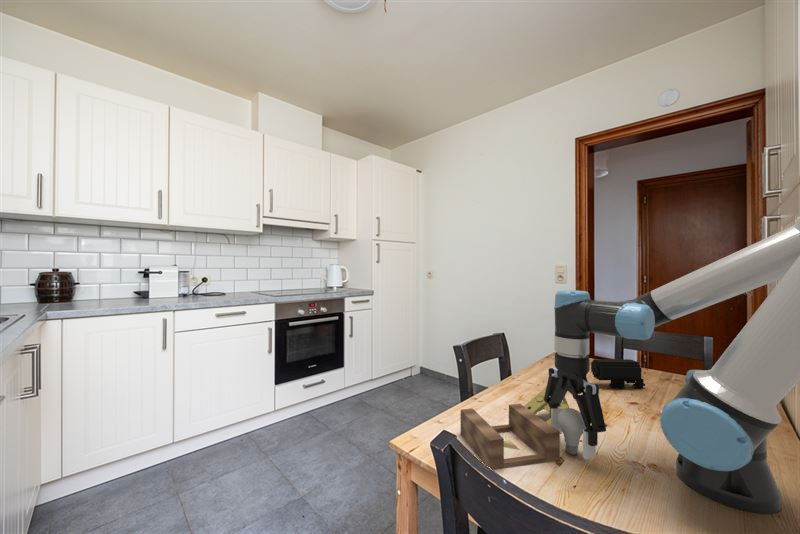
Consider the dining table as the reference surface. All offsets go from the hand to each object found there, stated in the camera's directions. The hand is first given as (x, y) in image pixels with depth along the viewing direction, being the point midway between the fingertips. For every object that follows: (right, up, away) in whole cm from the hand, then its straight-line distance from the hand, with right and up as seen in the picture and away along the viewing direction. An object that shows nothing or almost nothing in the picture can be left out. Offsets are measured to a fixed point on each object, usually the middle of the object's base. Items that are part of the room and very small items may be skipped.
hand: (571, 445), depth 78 cm
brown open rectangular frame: (-15, -2, +3) cm, 15 cm away
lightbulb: (0, -2, 0) cm, 2 cm away
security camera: (+42, -3, +45) cm, 62 cm away
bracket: (+6, -6, +18) cm, 20 cm away
